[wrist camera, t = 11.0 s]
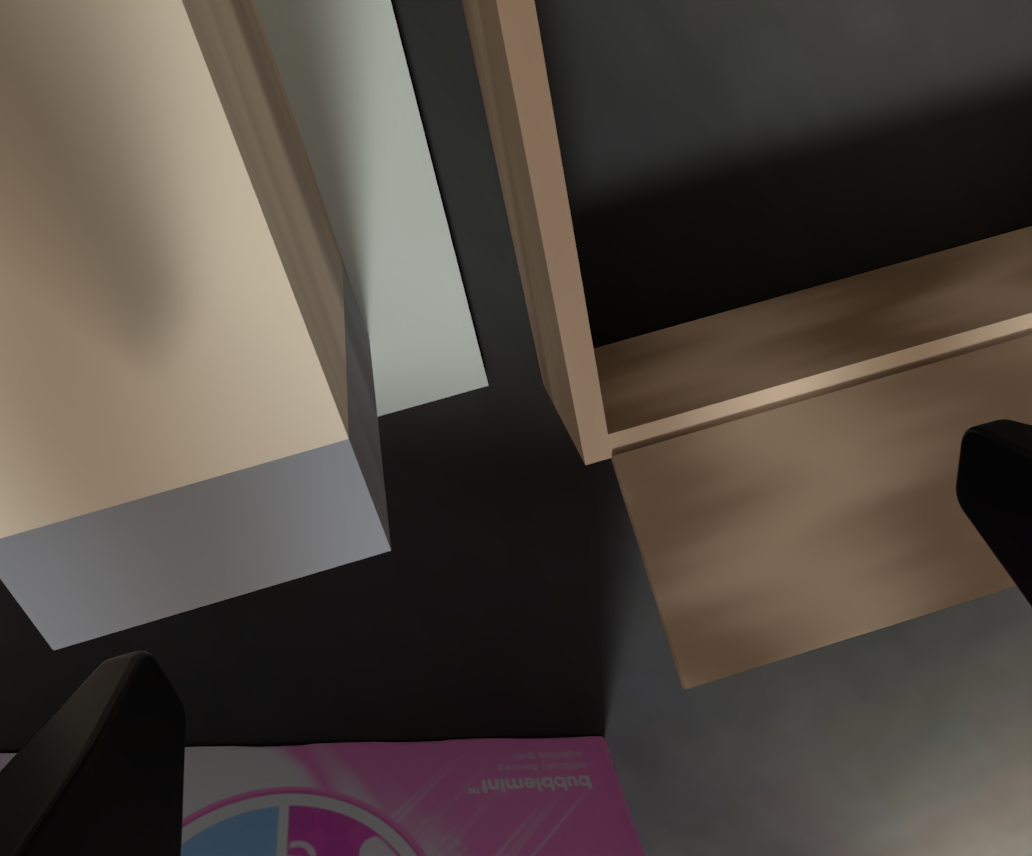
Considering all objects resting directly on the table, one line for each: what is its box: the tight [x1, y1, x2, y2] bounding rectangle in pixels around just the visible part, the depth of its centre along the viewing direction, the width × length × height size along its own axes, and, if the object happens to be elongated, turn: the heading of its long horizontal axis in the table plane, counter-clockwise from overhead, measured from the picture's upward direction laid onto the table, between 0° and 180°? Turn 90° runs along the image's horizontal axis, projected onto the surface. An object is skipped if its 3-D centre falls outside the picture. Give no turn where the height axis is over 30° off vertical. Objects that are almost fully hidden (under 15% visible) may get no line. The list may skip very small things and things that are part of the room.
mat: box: [255, 0, 489, 417], centre depth 16 cm, size 10×14×1 cm
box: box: [0, 0, 391, 651], centre depth 12 cm, size 5×10×8 cm, turn 12°
